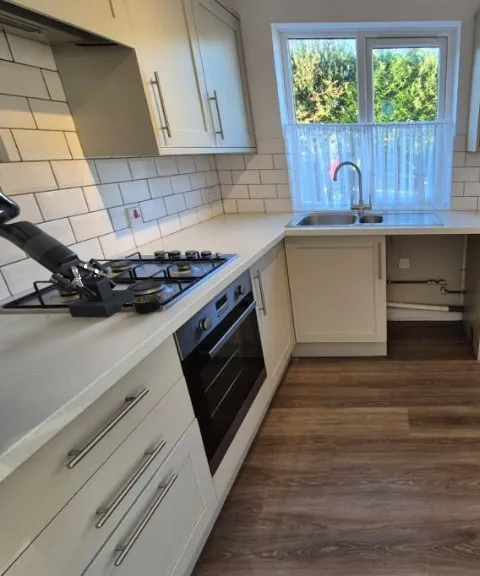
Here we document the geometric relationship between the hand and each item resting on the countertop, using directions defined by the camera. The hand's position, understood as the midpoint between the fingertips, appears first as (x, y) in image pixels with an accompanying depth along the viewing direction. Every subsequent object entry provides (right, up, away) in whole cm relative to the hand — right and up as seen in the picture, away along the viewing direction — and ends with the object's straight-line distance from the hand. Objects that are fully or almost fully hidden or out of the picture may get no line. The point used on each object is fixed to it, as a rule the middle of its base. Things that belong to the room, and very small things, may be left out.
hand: (104, 292), depth 104 cm
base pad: (-1, -5, +2) cm, 5 cm away
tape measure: (+13, -5, +1) cm, 14 cm away
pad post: (-1, -5, +2) cm, 5 cm away
